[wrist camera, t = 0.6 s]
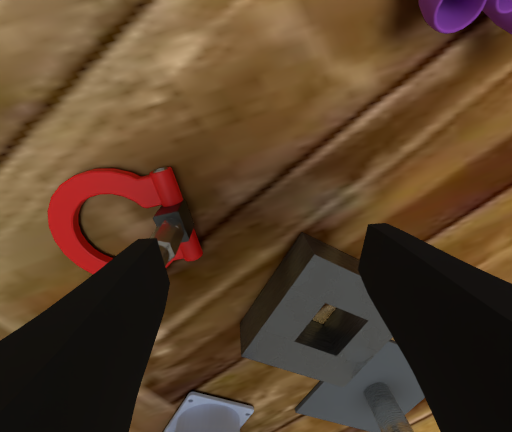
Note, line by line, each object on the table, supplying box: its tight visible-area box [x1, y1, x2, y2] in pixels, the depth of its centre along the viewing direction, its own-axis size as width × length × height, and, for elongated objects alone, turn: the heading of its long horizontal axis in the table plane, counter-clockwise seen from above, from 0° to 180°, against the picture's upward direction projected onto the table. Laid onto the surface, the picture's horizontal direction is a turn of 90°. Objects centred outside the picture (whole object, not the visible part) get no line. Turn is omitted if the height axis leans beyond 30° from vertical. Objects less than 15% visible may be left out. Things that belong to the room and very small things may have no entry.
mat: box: [295, 340, 425, 432], centre depth 30 cm, size 14×14×1 cm
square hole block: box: [240, 232, 393, 388], centre depth 22 cm, size 11×11×4 cm
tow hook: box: [48, 167, 203, 274], centre depth 13 cm, size 9×14×10 cm
